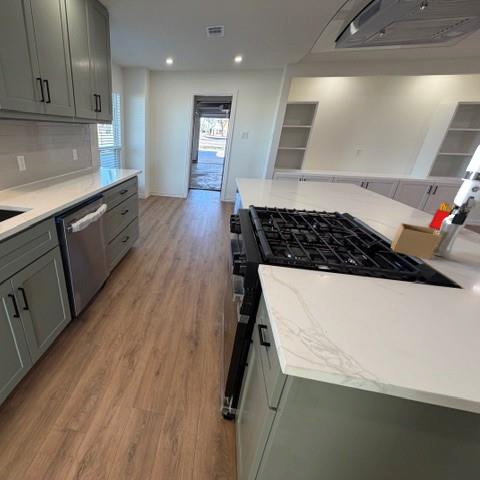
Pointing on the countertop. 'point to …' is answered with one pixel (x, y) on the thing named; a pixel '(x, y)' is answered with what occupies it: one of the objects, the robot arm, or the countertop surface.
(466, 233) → the countertop surface
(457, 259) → the countertop surface
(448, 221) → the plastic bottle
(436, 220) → the french fries container
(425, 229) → the bottle box
